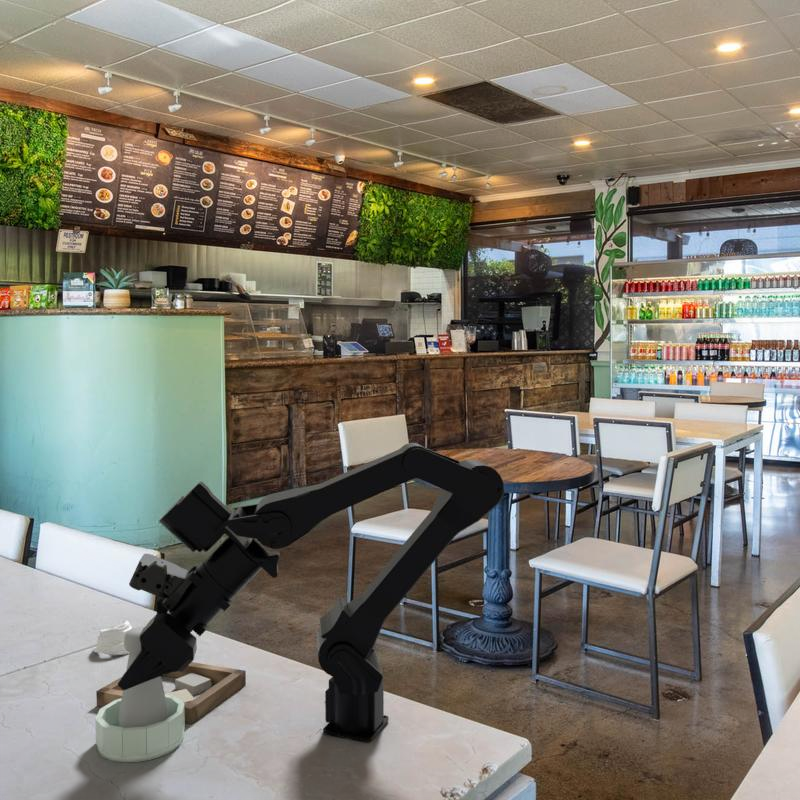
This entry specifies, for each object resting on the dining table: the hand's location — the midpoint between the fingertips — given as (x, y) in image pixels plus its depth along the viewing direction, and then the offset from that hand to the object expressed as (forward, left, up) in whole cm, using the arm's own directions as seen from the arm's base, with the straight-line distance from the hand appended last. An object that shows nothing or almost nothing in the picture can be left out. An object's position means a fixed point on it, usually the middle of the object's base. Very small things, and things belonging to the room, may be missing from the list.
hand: (128, 671), depth 97 cm
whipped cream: (+22, -24, -9) cm, 34 cm away
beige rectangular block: (0, -11, -9) cm, 14 cm away
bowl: (-1, -1, -9) cm, 9 cm away
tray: (+3, -13, -9) cm, 16 cm away
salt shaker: (-1, -1, -8) cm, 8 cm away
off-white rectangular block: (+2, -16, -9) cm, 19 cm away
